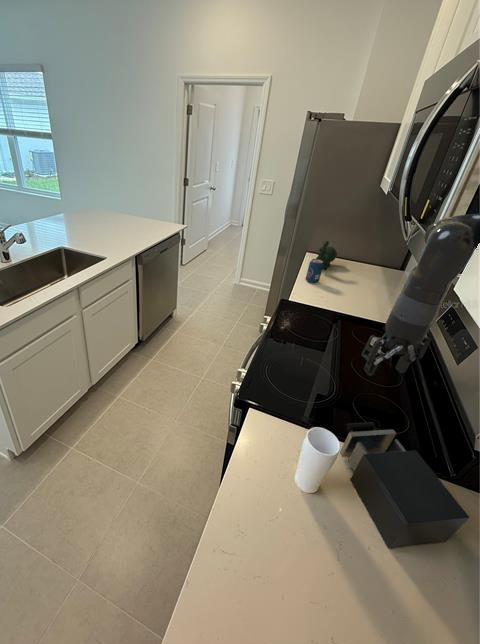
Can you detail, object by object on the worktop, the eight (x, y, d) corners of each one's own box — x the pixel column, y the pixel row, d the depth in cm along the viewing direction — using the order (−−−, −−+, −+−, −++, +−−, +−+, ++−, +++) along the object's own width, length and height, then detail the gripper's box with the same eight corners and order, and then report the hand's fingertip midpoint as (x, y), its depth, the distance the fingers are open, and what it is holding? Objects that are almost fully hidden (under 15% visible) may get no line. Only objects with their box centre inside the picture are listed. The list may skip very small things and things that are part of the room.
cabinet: (349, 479, 71) (363, 454, 67) (399, 475, 73) (415, 450, 68) (388, 548, 60) (407, 524, 55) (445, 542, 61) (470, 517, 56)
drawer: (331, 438, 80) (340, 418, 76) (371, 435, 81) (382, 415, 77) (369, 506, 66) (383, 485, 62) (418, 501, 67) (433, 481, 63)
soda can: (302, 279, 168) (307, 258, 162) (313, 278, 169) (319, 258, 163) (309, 284, 162) (315, 263, 156) (321, 284, 164) (327, 263, 158)
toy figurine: (324, 277, 175) (337, 261, 192) (332, 246, 165) (345, 232, 181) (308, 272, 180) (321, 257, 197) (315, 242, 170) (329, 229, 186)
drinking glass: (304, 502, 66) (322, 460, 59) (284, 474, 72) (299, 432, 64) (328, 490, 69) (348, 449, 61) (307, 464, 74) (323, 422, 67)
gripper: (396, 326, 61) (367, 386, 69) (456, 322, 63) (422, 380, 71) (370, 306, 67) (347, 363, 75) (426, 304, 69) (398, 359, 77)
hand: (384, 372), depth 73 cm, fingers open, 8 cm apart
